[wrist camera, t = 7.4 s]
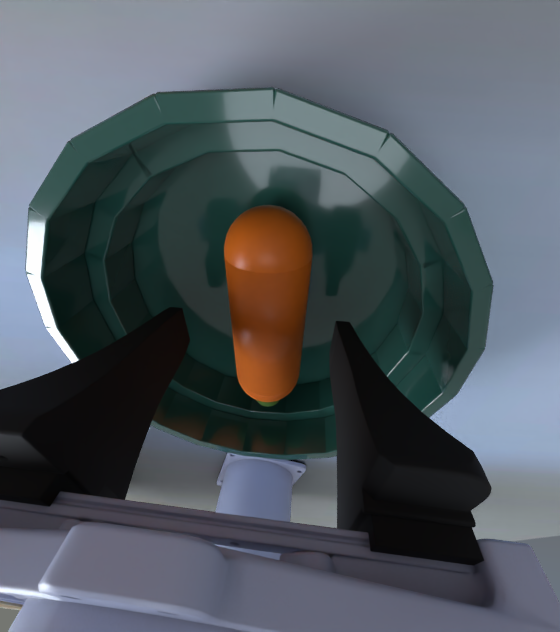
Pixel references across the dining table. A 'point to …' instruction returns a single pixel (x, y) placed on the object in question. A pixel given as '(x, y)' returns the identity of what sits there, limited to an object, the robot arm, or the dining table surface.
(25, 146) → the dining table surface
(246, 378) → the carrot
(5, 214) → the dining table surface
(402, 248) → the green glass bowl
